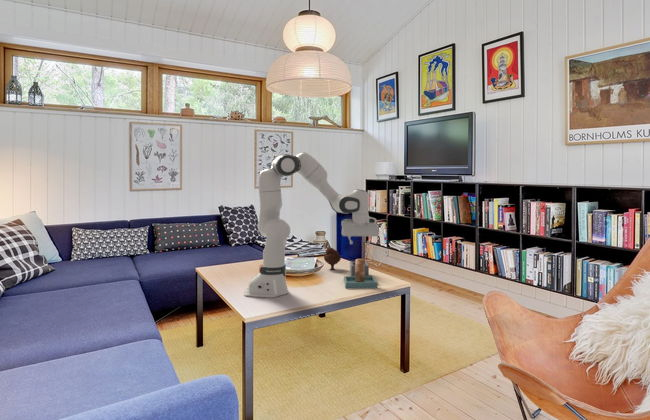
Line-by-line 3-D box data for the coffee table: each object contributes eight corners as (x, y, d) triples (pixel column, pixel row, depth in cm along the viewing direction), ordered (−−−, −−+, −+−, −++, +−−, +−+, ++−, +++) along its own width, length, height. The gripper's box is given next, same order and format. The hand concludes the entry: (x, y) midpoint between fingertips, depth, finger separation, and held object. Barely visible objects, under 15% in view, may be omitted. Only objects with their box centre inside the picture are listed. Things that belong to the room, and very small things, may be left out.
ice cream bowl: (334, 274, 241) (334, 250, 240) (320, 271, 248) (320, 248, 247) (344, 270, 250) (344, 247, 248) (330, 268, 256) (330, 245, 255)
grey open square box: (351, 280, 227) (351, 265, 226) (349, 275, 237) (349, 261, 236) (368, 279, 227) (368, 265, 227) (366, 275, 237) (366, 261, 237)
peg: (355, 284, 215) (355, 260, 214) (354, 281, 220) (355, 258, 219) (364, 284, 215) (365, 260, 214) (363, 281, 220) (364, 258, 219)
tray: (345, 288, 211) (345, 282, 210) (343, 281, 225) (343, 276, 224) (377, 288, 211) (377, 282, 211) (373, 281, 225) (373, 275, 225)
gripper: (341, 219, 211) (341, 245, 212) (379, 220, 212) (379, 245, 213) (341, 218, 217) (340, 243, 219) (377, 218, 218) (377, 243, 219)
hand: (359, 244), depth 216 cm, fingers open, 8 cm apart
